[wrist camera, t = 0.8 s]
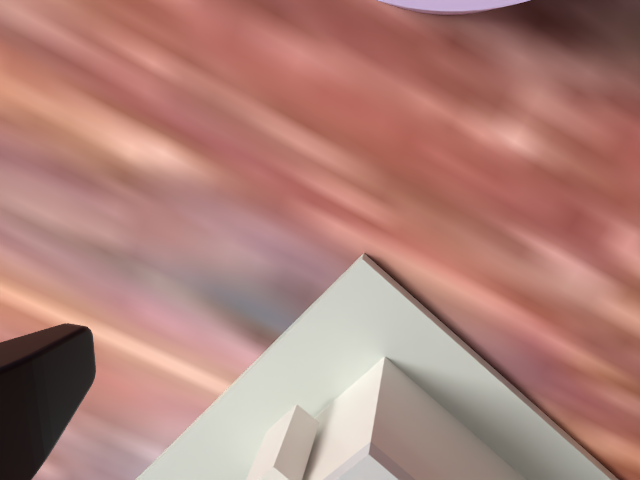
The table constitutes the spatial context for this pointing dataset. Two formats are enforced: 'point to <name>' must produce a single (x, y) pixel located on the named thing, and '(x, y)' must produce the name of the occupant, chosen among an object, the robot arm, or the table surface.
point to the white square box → (377, 438)
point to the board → (351, 364)
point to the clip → (451, 5)
